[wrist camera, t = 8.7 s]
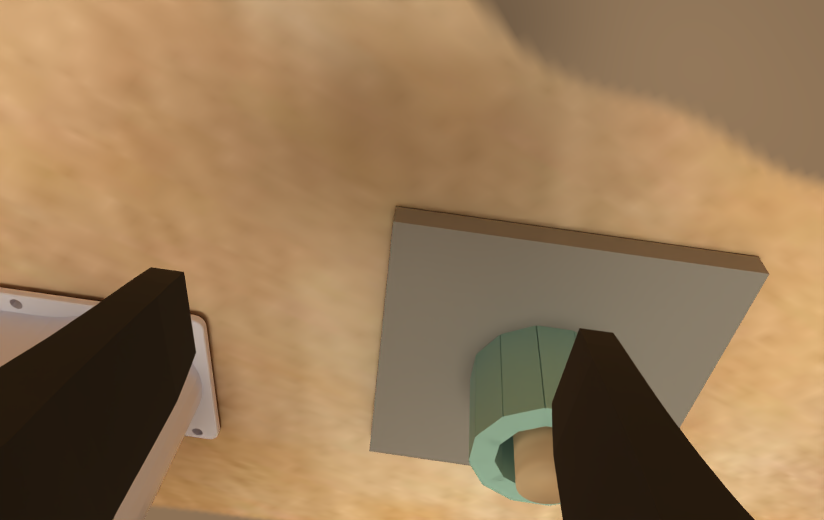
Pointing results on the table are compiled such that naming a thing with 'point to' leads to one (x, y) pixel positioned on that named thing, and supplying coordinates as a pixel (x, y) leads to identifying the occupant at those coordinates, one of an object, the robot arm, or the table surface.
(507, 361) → the green ring
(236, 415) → the table surface
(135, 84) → the table surface
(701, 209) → the table surface
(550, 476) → the beech post
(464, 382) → the grey board
